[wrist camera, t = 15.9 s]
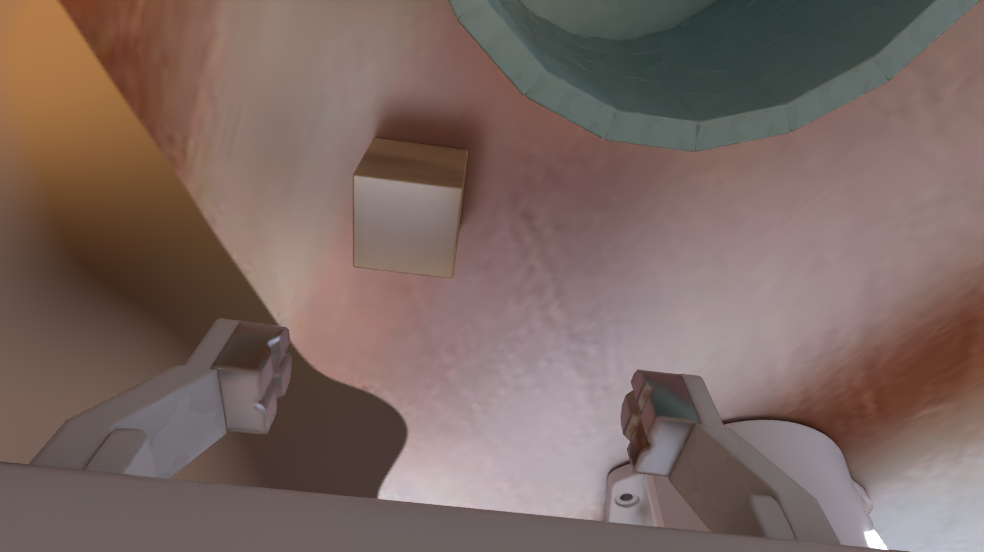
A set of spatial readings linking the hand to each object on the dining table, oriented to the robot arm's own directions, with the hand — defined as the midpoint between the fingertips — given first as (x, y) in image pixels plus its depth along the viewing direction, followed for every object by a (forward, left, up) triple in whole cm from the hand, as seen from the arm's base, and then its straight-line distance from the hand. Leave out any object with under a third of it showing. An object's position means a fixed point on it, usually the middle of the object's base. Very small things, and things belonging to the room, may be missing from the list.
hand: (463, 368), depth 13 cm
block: (-3, +3, -16) cm, 16 cm away
